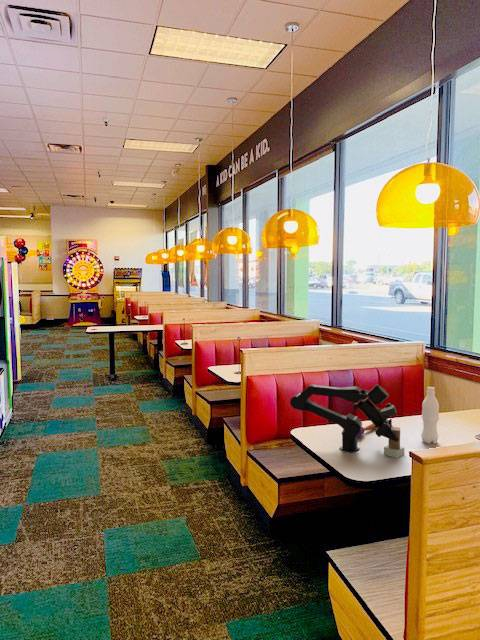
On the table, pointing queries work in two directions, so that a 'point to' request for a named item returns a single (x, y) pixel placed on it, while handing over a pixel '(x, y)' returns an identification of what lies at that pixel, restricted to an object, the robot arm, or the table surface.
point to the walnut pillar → (393, 443)
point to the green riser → (394, 452)
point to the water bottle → (430, 417)
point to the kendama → (370, 427)
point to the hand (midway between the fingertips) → (397, 439)
